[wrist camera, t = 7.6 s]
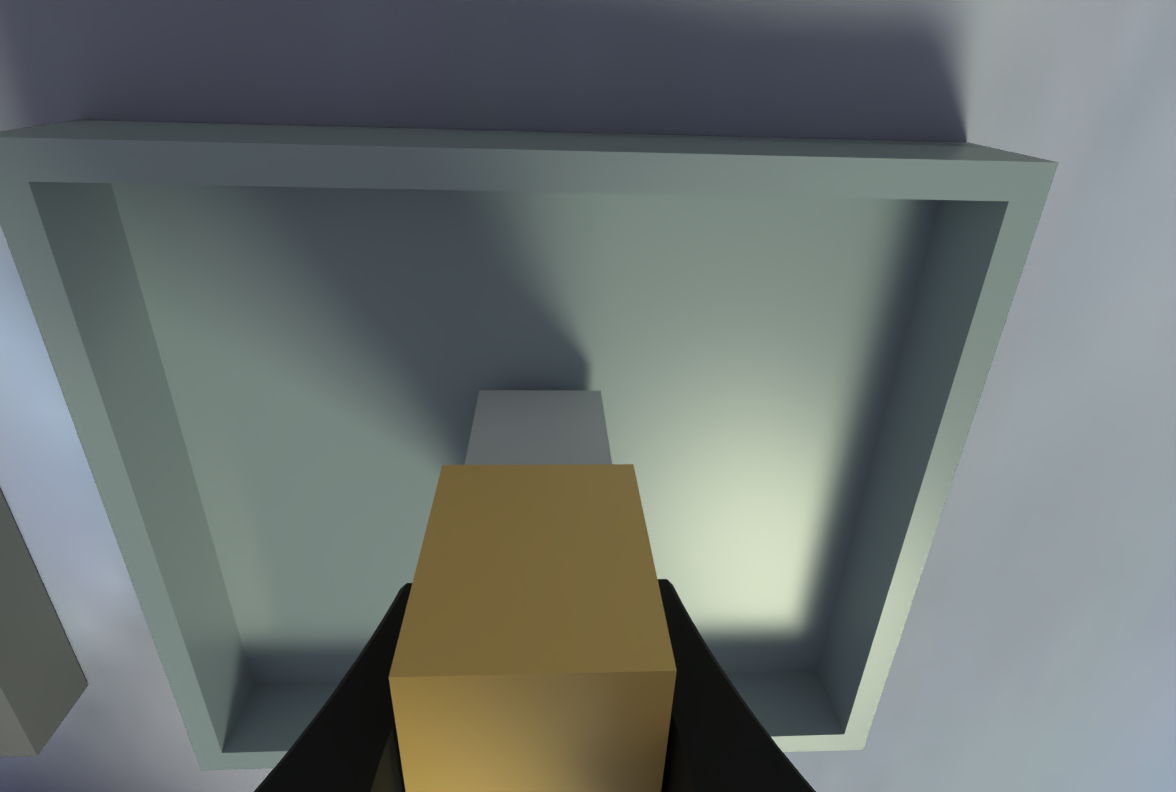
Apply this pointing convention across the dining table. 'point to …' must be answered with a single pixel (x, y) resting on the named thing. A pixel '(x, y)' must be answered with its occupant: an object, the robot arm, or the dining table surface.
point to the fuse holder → (30, 652)
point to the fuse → (534, 614)
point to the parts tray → (514, 375)
